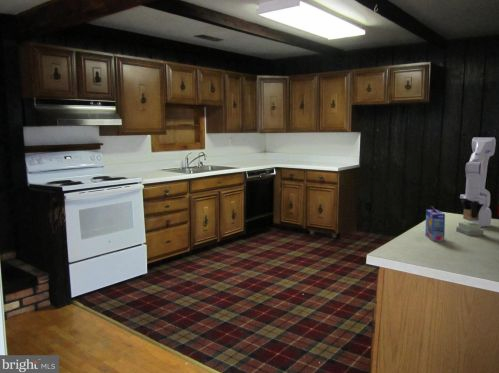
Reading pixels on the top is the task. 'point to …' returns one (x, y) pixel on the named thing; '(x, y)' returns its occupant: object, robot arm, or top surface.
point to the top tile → (469, 226)
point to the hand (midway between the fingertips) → (470, 216)
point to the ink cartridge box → (435, 225)
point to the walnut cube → (469, 215)
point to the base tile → (470, 232)
